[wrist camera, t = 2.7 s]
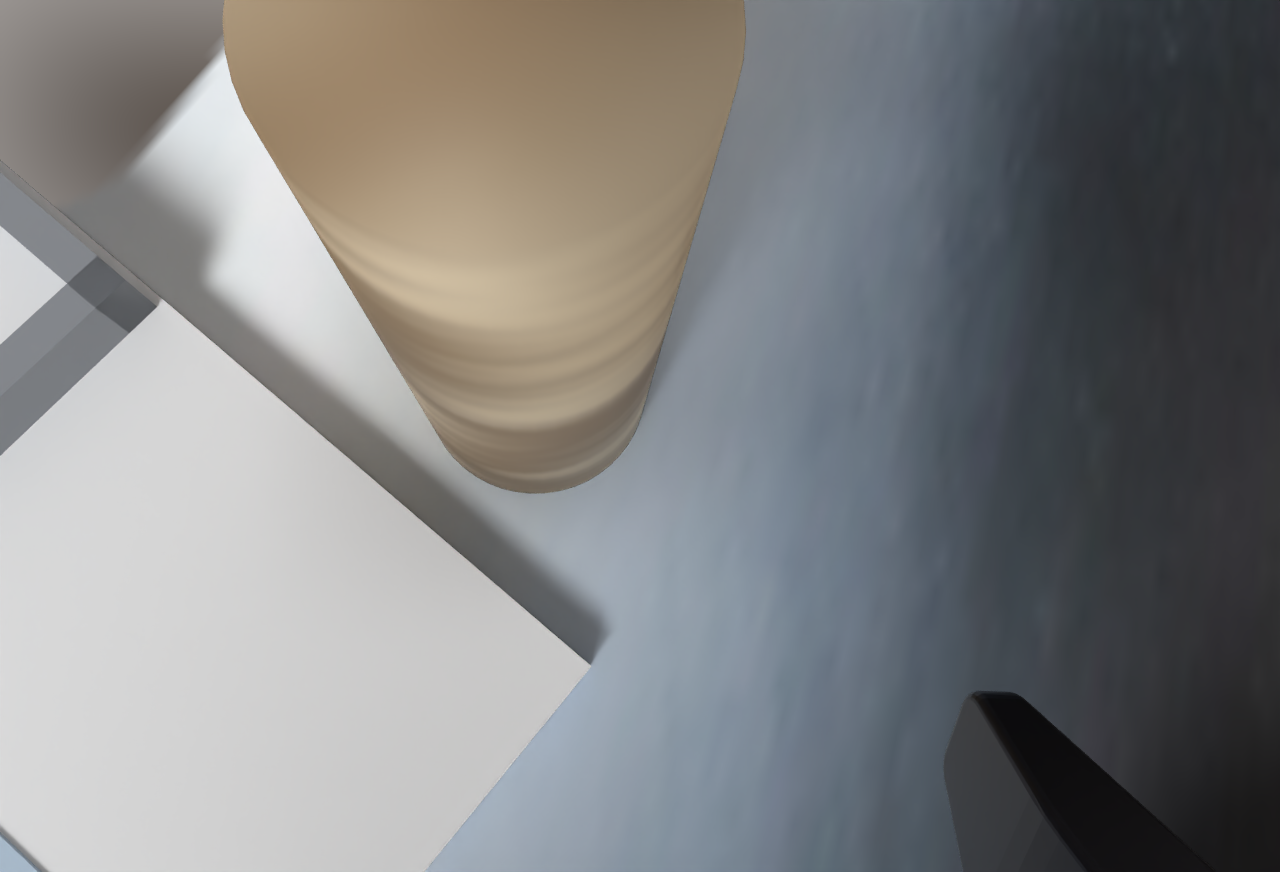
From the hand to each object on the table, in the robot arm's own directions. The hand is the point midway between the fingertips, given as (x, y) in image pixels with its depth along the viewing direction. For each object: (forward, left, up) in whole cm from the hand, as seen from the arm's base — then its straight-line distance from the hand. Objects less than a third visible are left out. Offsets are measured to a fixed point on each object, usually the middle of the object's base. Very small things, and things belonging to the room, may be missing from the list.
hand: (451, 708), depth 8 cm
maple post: (+4, -5, -12) cm, 14 cm away
